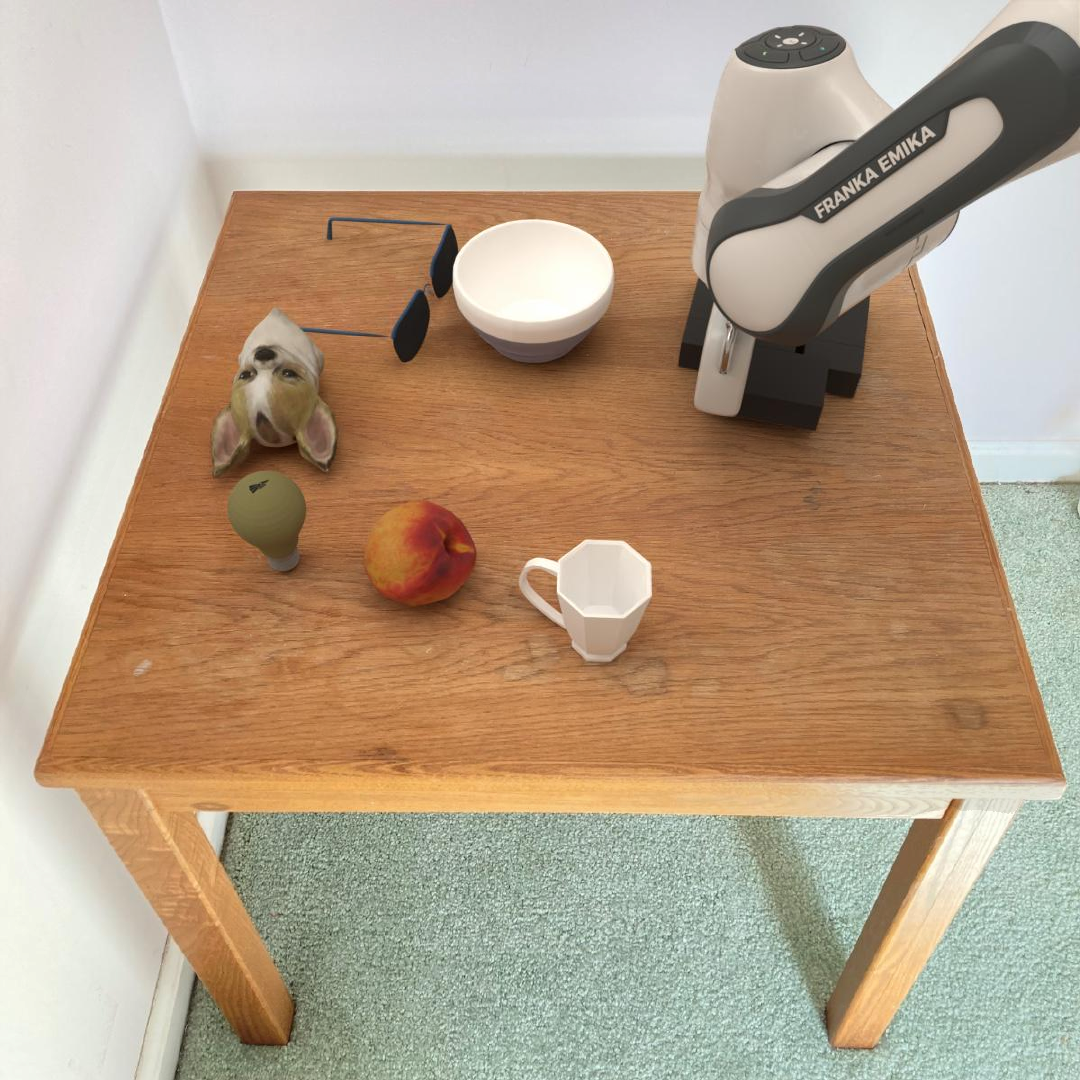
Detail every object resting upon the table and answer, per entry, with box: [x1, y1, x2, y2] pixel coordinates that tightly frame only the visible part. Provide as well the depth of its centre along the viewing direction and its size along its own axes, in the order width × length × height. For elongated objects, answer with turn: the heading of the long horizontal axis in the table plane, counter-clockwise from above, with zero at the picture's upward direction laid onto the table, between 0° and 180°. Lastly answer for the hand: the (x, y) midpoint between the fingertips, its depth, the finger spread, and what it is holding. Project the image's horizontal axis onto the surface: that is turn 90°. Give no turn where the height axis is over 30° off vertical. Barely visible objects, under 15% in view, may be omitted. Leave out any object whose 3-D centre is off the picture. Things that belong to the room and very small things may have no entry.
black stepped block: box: [734, 338, 830, 432], centre depth 90 cm, size 10×9×3 cm
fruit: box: [362, 500, 478, 607], centre depth 77 cm, size 8×8×8 cm
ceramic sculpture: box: [209, 306, 339, 478], centre depth 87 cm, size 11×9×15 cm
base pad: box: [677, 276, 871, 399], centre depth 96 cm, size 16×12×3 cm
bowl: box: [452, 218, 615, 364], centre depth 94 cm, size 14×14×8 cm
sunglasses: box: [299, 216, 459, 364], centre depth 99 cm, size 17×15×5 cm
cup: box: [518, 539, 653, 663], centre depth 75 cm, size 7×10×8 cm
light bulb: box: [227, 470, 307, 572], centre depth 77 cm, size 6×6×10 cm
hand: (724, 375), depth 90 cm, fingers closed on black stepped block, 6 cm apart
